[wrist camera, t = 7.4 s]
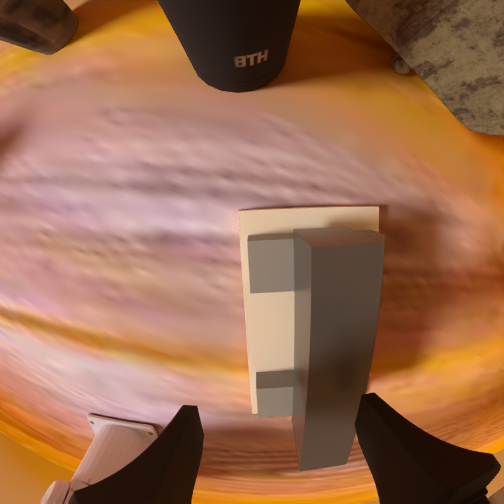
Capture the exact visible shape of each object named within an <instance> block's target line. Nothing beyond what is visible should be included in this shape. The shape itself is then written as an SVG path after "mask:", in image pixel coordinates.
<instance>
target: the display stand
mask: <svg viewBox="0 0 504 504" xmlns="http://www.w3.org/2000/svg"><path fill="white" fill-rule="evenodd" d="M238 215H239V232H240V248H241V264H242V279H243V294H244V309H245V323H246V337H247V351H248V364H249V377H250V390H251V403H252V414H258V418H271V417H286V416H292V409H293V380H294V240H293V229H302V228H327V227H348V228H350V229H352V230H354V231H357V232H359V233H361V234H364V235H366V236H368V237H370V238H372V239H375V240H377V241H379V242H381V243H383V244H384V252H385V235H384V234H381V233H379V207H377V206H323V207H291V208H267V209H247V210H239V211H238ZM383 269H384V256H383ZM382 283H383V273H382ZM368 381H369V378H368ZM367 386H368V383H367ZM366 391H367V388H366ZM365 394H366V392H365Z"/></svg>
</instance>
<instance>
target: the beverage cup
mask: <svg viewBox="0 0 504 504" xmlns="http://www.w3.org/2000/svg"><path fill="white" fill-rule="evenodd" d="M77 26H78V18H77V17H76V16H75V15H74V14H73V12H72V10H71V9H70V8H69V7H68V5H67V4H66V3H65V2H64V1H63V0H0V40H1V41H5V42H8V43H11V44H14V45H17V46H20V47H23V48H26V49H29V50H32V51H35V52H40V53H43V54H45V55H50V54H53V53H55V52H57V51H58V50H60V49H61V48H63V47H64V46H65V45H66V44H67V43H68V42H69V40H70V39H71V38H72V36H73V35H74V33H75V31H76V29H77Z"/></svg>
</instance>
